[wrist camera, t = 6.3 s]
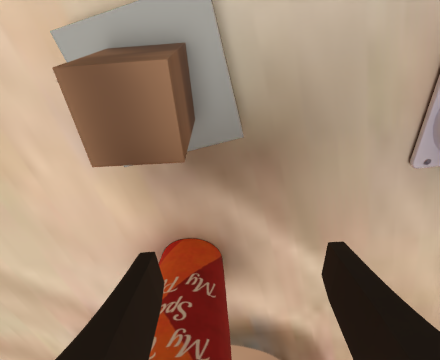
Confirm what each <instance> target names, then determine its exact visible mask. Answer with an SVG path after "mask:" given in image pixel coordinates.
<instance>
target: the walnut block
mask: <svg viewBox="0 0 440 360" xmlns="http://www.w3.org/2000/svg"><path fill="white" fill-rule="evenodd" d="M53 70H54V73H55V75H56V78H57V80H58V83H59V85H60V88H61V90H62V93H63V95H64V98H65V100H66V103H67V105H68V108H69V110H70V113H71V115H72V118H73V120H74V123H75V125H76V128H77V130H78V133H79V135H80V138H81V140H82V143H83V145H84V148H85V150H86V153H87V155H88V158H89V160H90V163H91V165H92V167H105V166H123V165H142V164H161V163H180V162H185V158H186V154H187V150H188V146H189V142H190V138H191V134H192V130H193V126H194V122H195V114H194V106H193V98H192V90H191V82H190V74H189V66H188V58H187V51H186V43H173V44H160V45H147V46H133V47H120V48H107V49H104V50H101V51H99V52H96V53H93V54H90V55H87V56H84V57H81V58H79V59H76V60H73V61H70V62H67V63H64V64H62V65H59V66H56V67H53Z"/></svg>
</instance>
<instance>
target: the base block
mask: <svg viewBox="0 0 440 360" xmlns="http://www.w3.org/2000/svg"><path fill="white" fill-rule="evenodd" d="M50 33H51V34H52V36H53V38H54V40H55V42H56V43H57V45H58V47H59V49H60V51H61V53H62V54H63V56H64V58H65V60H66V62H70V61H73V60H76V59H79V58H81V57H84V56H87V55H90V54H93V53H96V52H99V51H101V50H104V49H107V48H120V47H133V46H147V45H160V44H173V43H186V51H187V58H188V66H189V74H190V82H191V90H192V98H193V106H194V114H195V122H194V126H193V130H192V134H191V138H190V142H189V146H188V150H187V151H191V150H195V149H199V148H203V147H207V146H211V145H215V144H219V143H223V142H227V141H231V140H235V139H239V138H243V137H244V136H243V131H242V126H241V121H240V117H239V113H238V109H237V105H236V100H235V96H234V92H233V88H232V83H231V79H230V75H229V71H228V67H227V62H226V58H225V54H224V50H223V46H222V41H221V37H220V33H219V29H218V24H217V20H216V16H215V12H214V8H213V3H212V0H139V1H136V2H133V3H130V4H127V5H124V6H121V7H118V8H115V9H113V10H110V11H107V12H104V13H101V14H98V15H95V16H92V17H89V18H87V19H84V20H81V21H78V22H75V23H72V24H69V25H66V26H64V27H61V28H58V29H55V30H52V31H50ZM123 166H124V167H127V166H131V165H123Z"/></svg>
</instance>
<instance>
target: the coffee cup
mask: <svg viewBox="0 0 440 360" xmlns="http://www.w3.org/2000/svg"><path fill="white" fill-rule="evenodd" d="M159 267H160V270H161V273H162V276H163V279H164V290H163V298H162V306H161V311H160V315H159V319H158V323H157V328H156V332H155V336H154V340H153V344H152V348H151V352H150V356H149V360H231V346H230V332H229V322H228V312H227V301H226V290H225V279H224V269H223V261H222V256H221V253H220V252H219V250H218V249H217V248H216V247H215V246H214V245H212V244H211V243H209V242H206V241H204V240H200V239H181V240H178V241H175V242H173V243H171V244H170V245H169V246H168V247H167V248H166V249H165V250H164V252H163V254H162V257H161V260H160V262H159Z"/></svg>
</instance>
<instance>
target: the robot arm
mask: <svg viewBox="0 0 440 360" xmlns="http://www.w3.org/2000/svg"><path fill="white" fill-rule="evenodd" d="M426 159H427V161H425V160H426ZM424 161H425V162H424ZM410 164H411V166H413V167H414V168H427V167H439V166H440V75H439V78H438V81H437V84H436V87H435V90H434V93H433V96H432V99H431V102H430V104H429V107H428V110H427V113H426V116H425V119H424V122H423V125H422V128H421V131H420V134H419V137H418V140H417V143H416V146H415V148H414V151H413V154H412V157H411V160H410ZM322 278H323V282H324V285H325V289H326V292H327V296H328V299H329V302H330V304H331V307H332V309H333V311H334V314H335V316H336V319H337V321H338V324H339V326H340V328H341V331H342V333H343V336H344V338H345V341H346V343H347V345H348V348H349V350H350V353H351V355H352V357H353V360H440V331H438V330H437V329H436V328H435V327H433V326H432V325H431V324H430V323H429V322H427V321H426V320H425V319H424V318H423V317H422V316H420V315H419V314H418V313H417V312H416V311H415V310H413V309H412V308H411V307H410V306H409V305H408V304H407V303H406V302H404V301H403V300H402V299H401V298H400V297H399V296H398V295H397V294H396V293H395V292H394V291H392V290H391V289H390V288H389V287H388V286H387V285H386V284H385V283H384V282H383V281H382V280H381V279H380V278H379V277H378V276H377V275H376V274H375V273H374V272H373V271H372V270H371V269H370V268H369V267H368V266H367V265H366V264H365V263H364V262H363V261H362V260H361V259H360V258H359V257H358V256H357V255H356V254H355V253H354V252H353V251H352V250H351V249H350V248H349V247H348V246H347V245H346V244H345V243H344V242H329V243H328V246H327V251H326V256H325V261H324V265H323V270H322ZM163 290H164V279H163V276H162V273H161V270H160V267H159V264H158V261H157V258H156V254H155V252H145V253H140V254H139V255H138V256H137V258H136V259H135V261H134V262H133V264H132V265H131V267H130V268H129V270H128V271H127V272H126V274H125V275H124V277H123V278H122V280H121V281H120V282H119V284H118V285H117V286H116V288H115V289H114V291H113V292H112V293H111V295H110V296H109V297H108V299H107V300H106V301H105V303H104V304H103V305H102V306H101V308H100V309H99V310H98V311H97V313H96V314H95V315H94V316H93V318H92V319H91V320H90V321H89V323H88V324H87V325H86V326H85V327H84V328H83V330H82V331H81V332H80V333H79V334H78V335H77V337H76V338H75V339H74V340H73V341H72V342H71V343H70V344H69V345H68V347H67V348H66V349H65V350H64V351H63V352H62V353H61V354H60V355H59V356H58V357H57V358H56V359H55V360H149V356H150V352H151V348H152V344H153V340H154V336H155V332H156V328H157V323H158V319H159V315H160V311H161V306H162V298H163Z"/></svg>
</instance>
